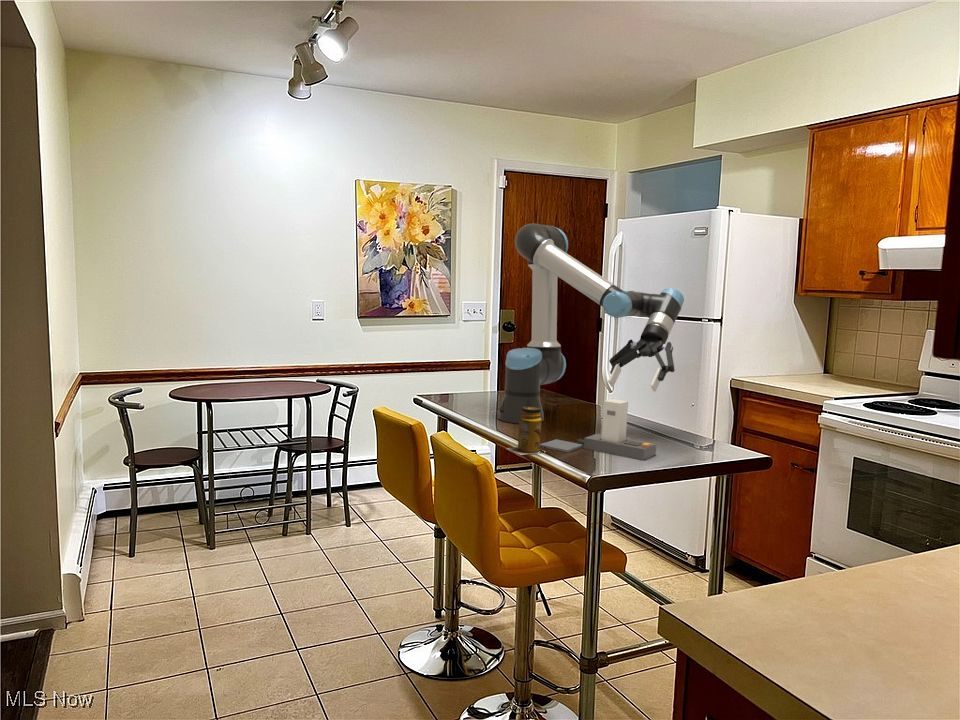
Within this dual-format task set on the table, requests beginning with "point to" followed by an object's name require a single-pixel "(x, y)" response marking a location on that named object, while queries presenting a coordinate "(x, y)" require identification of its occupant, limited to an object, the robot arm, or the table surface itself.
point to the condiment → (528, 431)
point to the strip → (620, 447)
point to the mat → (561, 445)
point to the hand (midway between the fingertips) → (631, 386)
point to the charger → (614, 421)
